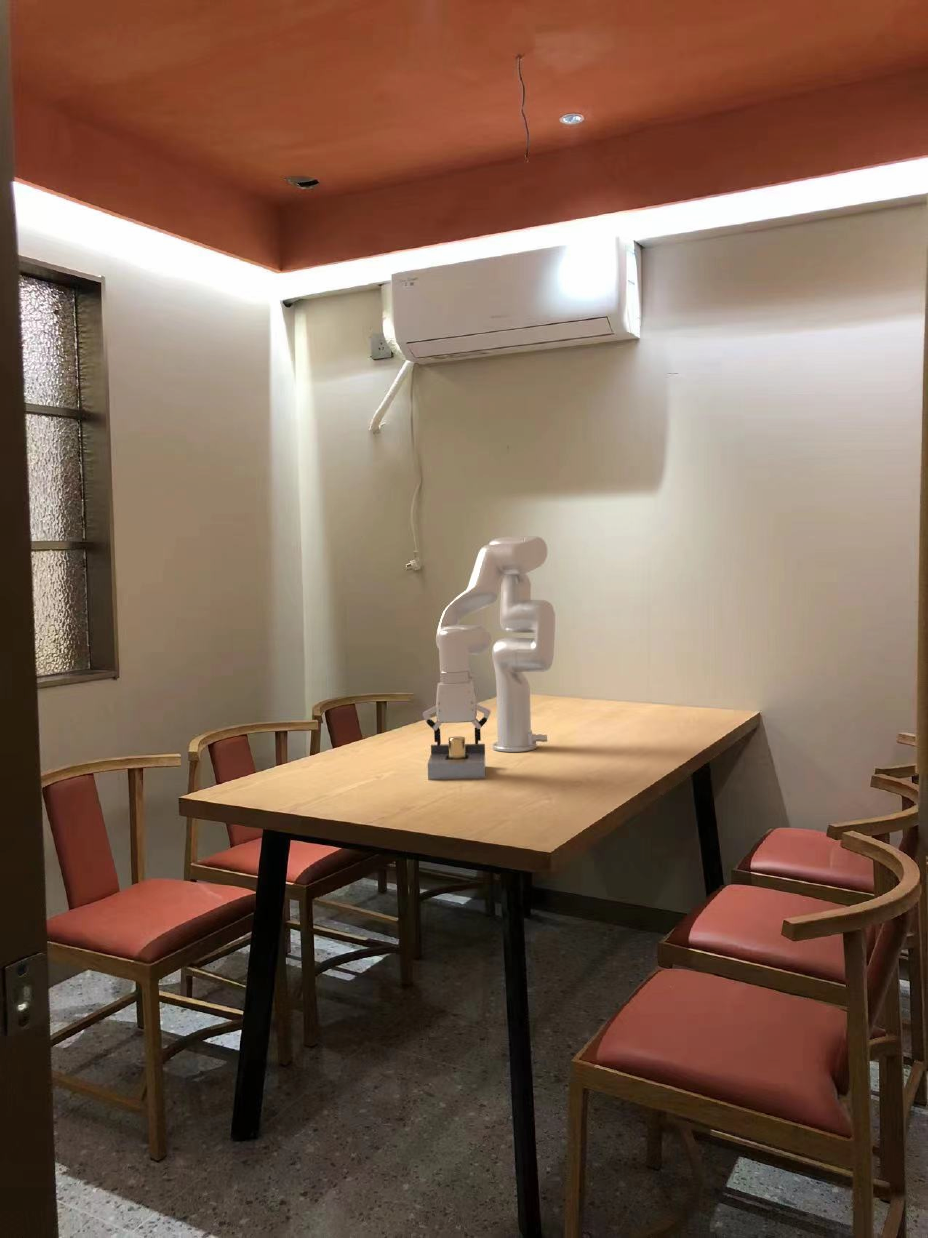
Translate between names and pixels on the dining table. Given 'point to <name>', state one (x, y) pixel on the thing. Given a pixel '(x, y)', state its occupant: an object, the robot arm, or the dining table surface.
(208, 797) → the dining table surface
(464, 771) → the jig
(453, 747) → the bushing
